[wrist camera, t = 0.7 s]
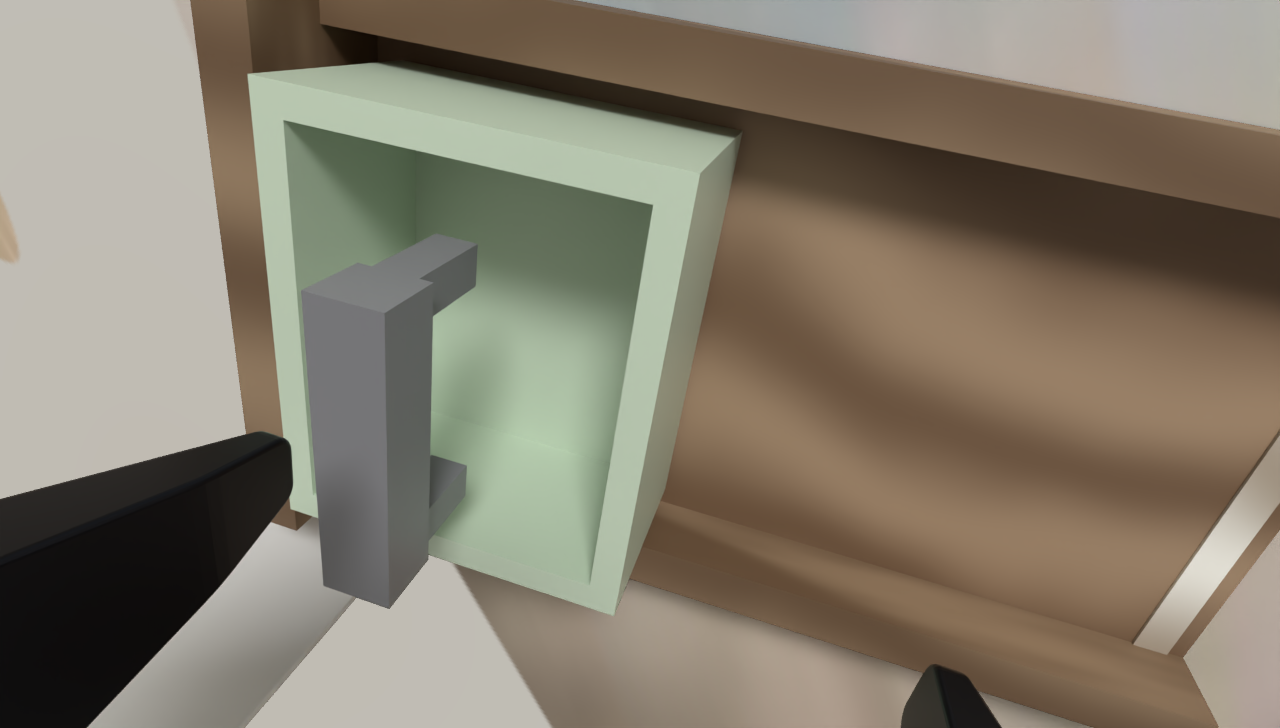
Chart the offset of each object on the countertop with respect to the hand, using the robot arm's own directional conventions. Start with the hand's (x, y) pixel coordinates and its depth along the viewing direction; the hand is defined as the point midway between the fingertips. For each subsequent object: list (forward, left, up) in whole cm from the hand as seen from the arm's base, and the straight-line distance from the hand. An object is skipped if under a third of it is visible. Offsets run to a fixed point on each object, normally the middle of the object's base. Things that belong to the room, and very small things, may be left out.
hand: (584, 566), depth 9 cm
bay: (-2, -2, -13) cm, 14 cm away
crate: (-2, +5, -13) cm, 14 cm away
